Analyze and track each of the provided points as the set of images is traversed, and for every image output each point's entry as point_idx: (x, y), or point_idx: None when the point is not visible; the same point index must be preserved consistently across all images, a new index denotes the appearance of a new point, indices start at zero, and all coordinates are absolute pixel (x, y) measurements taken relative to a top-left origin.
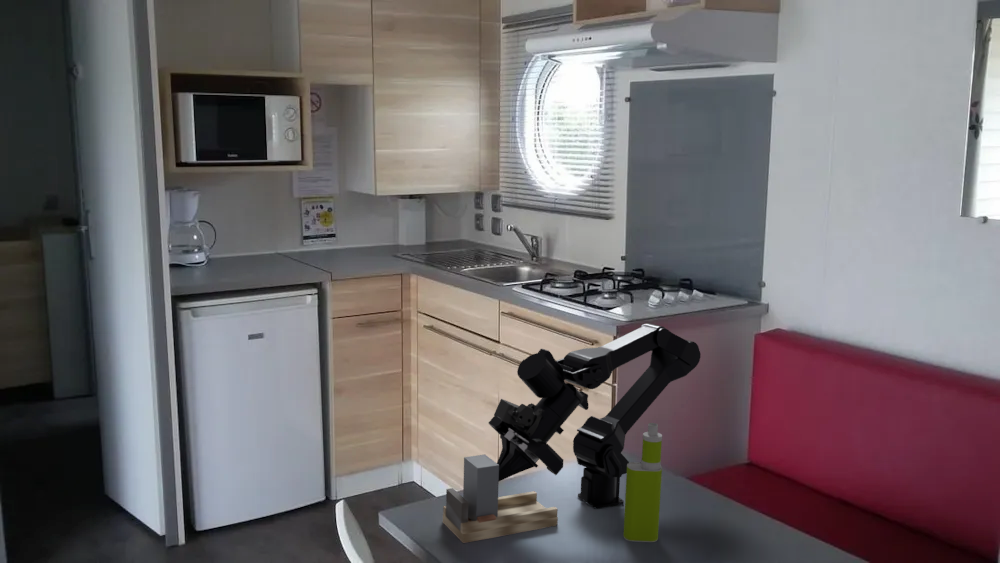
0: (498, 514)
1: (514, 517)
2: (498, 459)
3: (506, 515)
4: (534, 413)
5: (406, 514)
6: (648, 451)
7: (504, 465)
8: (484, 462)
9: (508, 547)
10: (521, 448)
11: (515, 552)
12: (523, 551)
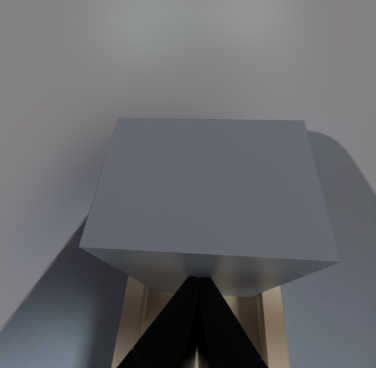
0: None
1: (117, 339)
2: (263, 362)
3: (137, 317)
4: None
5: (318, 158)
6: None
7: (136, 344)
8: (174, 180)
9: (79, 275)
10: None
11: (51, 277)
12: (41, 299)
